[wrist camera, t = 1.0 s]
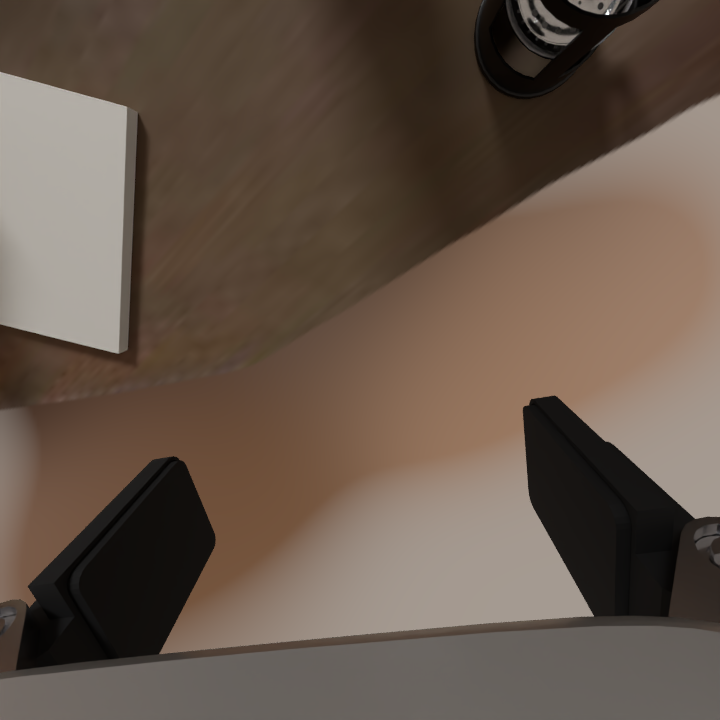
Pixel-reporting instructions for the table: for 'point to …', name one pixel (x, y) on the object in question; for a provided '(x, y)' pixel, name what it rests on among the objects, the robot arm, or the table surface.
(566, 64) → the french press
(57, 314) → the white base with posts
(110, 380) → the table surface
